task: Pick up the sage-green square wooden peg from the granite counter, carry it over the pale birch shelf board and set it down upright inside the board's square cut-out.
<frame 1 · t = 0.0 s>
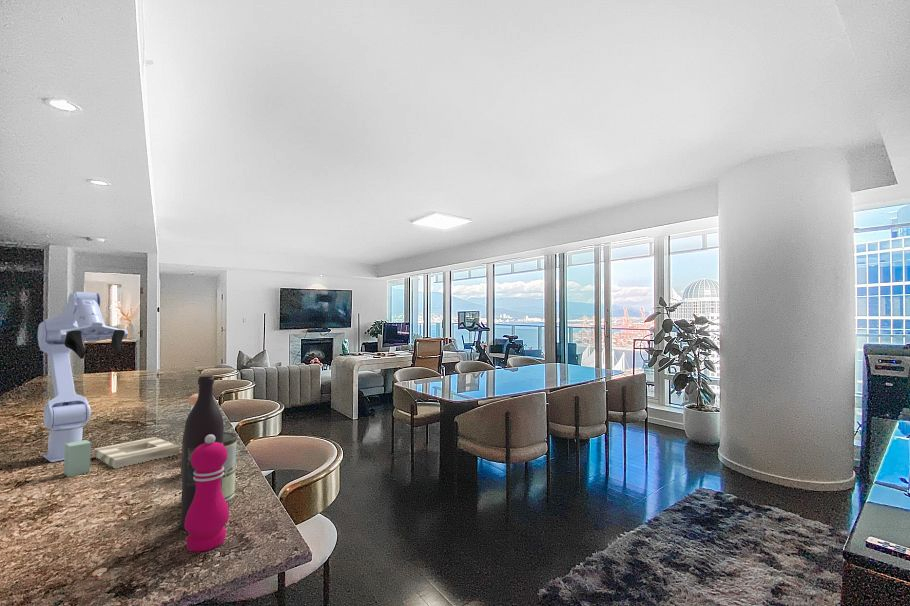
hand: (101, 354, 111), 32 cm above the kitchen island, tool tilted 50°, fingers open, 7 cm apart
pepper mill: (206, 544, 77), on the kitchen island
peg: (76, 472, 112), on the kitchen island
salt shaker: (199, 452, 132), on the kitchen island
coffee can: (210, 499, 97), on the kitchen island
shelf board: (136, 455, 127), on the kitchen island
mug: (194, 474, 112), on the kitchen island
wine bottle: (200, 524, 85), on the kitchen island
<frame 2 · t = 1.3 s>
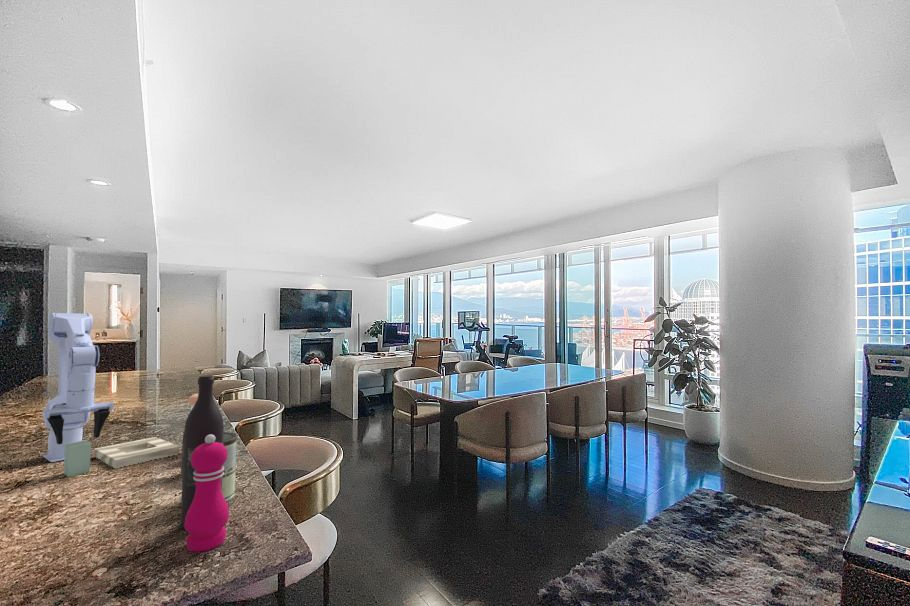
hand: (78, 440, 113), 9 cm above the kitchen island, tool pointing down, fingers open, 7 cm apart
nothing on the kitchen island moved.
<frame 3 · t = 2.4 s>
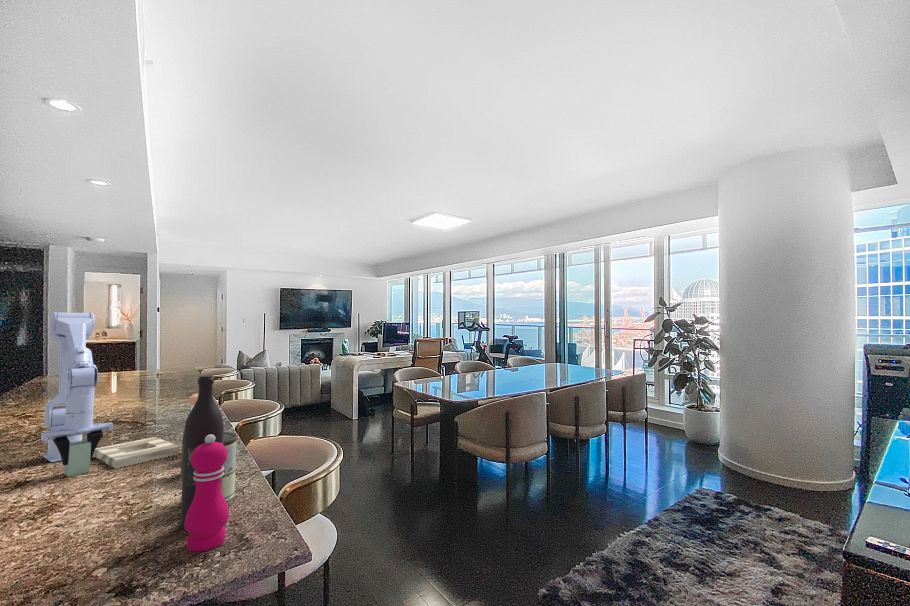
hand: (77, 461, 113), 3 cm above the kitchen island, tool pointing down, fingers closed on peg, 4 cm apart
peg: (76, 472, 112), on the kitchen island, touching gripper
everything else where it was.
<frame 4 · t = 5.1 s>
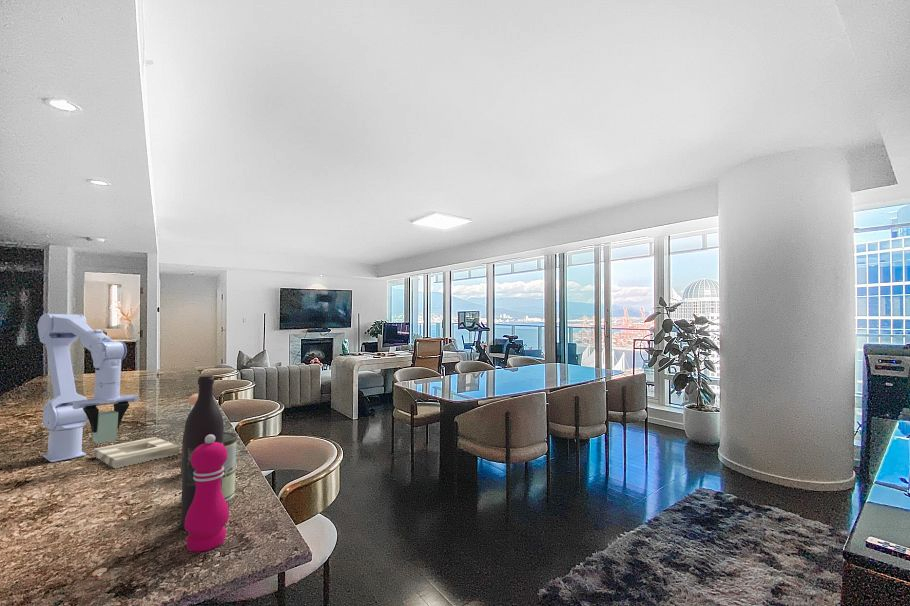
hand: (105, 430, 119), 10 cm above the kitchen island, tool pointing down, fingers closed on peg, 4 cm apart
peg: (104, 440, 119), point 7 cm above the kitchen island, touching gripper
everything else where it was.
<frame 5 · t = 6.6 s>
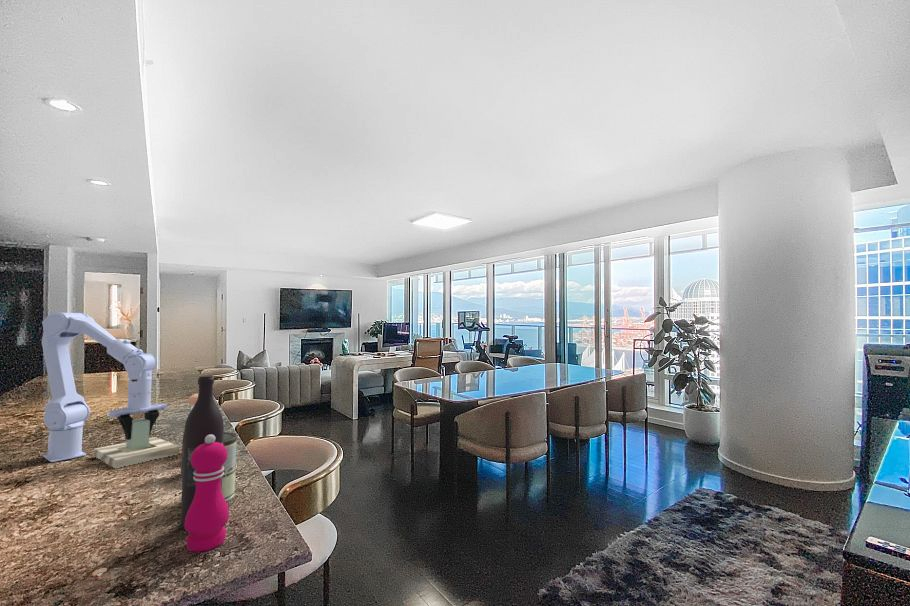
hand: (137, 437, 127), 6 cm above the kitchen island, tool pointing down, fingers closed on peg, 4 cm apart
peg: (137, 447, 127), point 3 cm above the kitchen island, touching gripper
everything else where it was.
when the fingers open (4 cm above the kitchen island, at t = 7.8 s): peg drops 1 cm, resting in shelf board.
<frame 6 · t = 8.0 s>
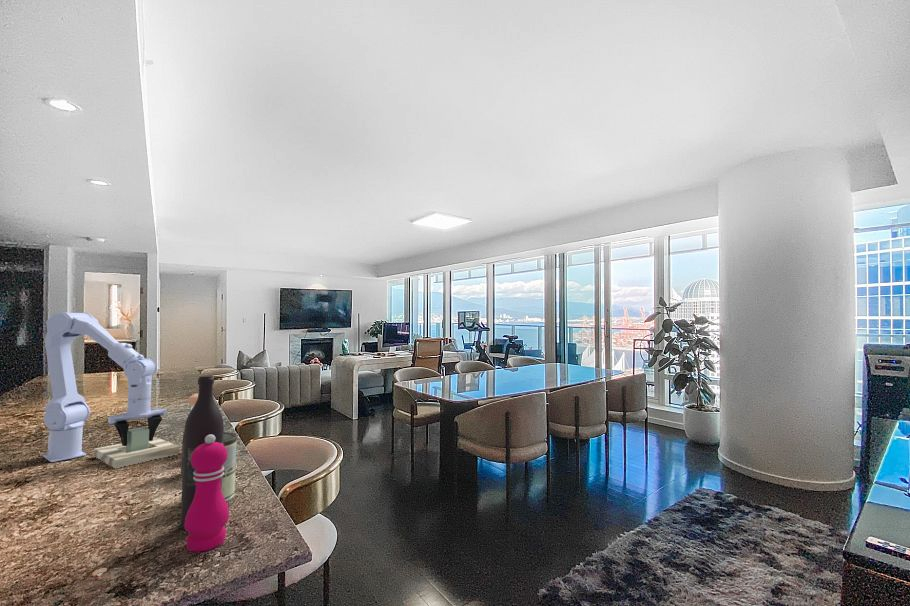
hand: (137, 442, 127), 4 cm above the kitchen island, tool pointing down, fingers open, 6 cm apart
peg: (136, 455, 127), resting in shelf board
everything else where it was.
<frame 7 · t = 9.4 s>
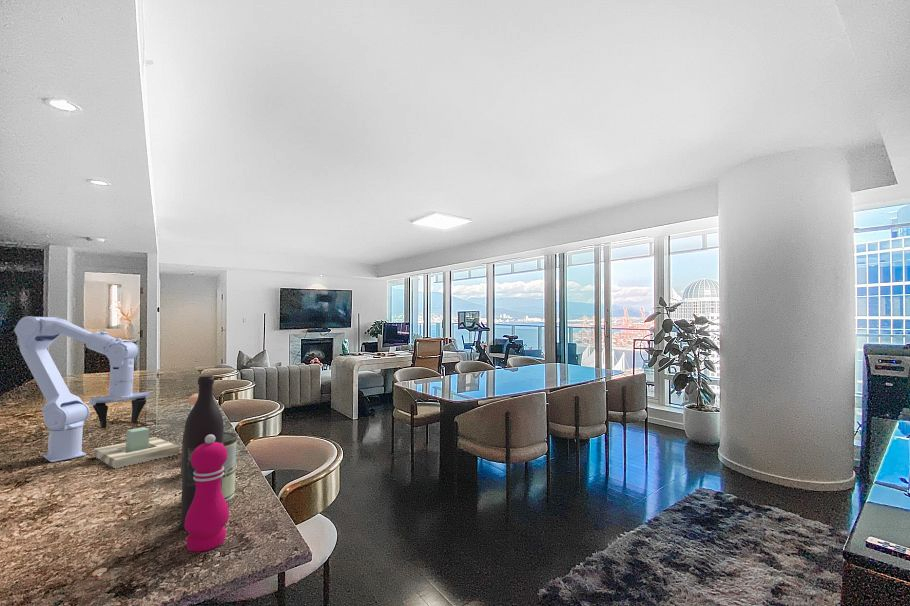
hand: (119, 425, 127), 9 cm above the kitchen island, tool pointing down, fingers open, 7 cm apart
nothing on the kitchen island moved.
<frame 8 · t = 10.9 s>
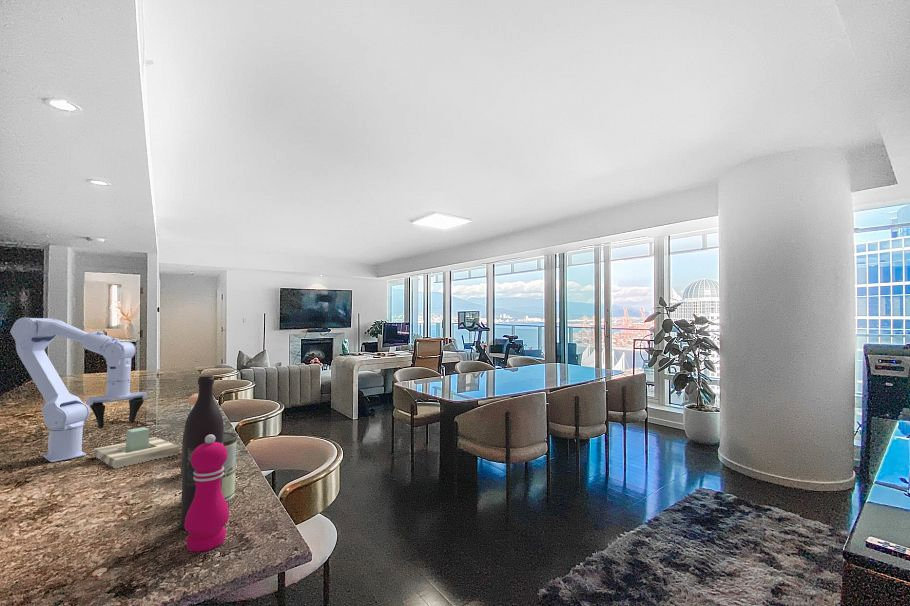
hand: (116, 425, 127), 9 cm above the kitchen island, tool pointing down, fingers open, 7 cm apart
nothing on the kitchen island moved.
at the end: peg 0.0 cm off-centre on the shelf board, point 0.0 cm above the shelf board's base; peg tilted 0°; the gripper is holding nothing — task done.
